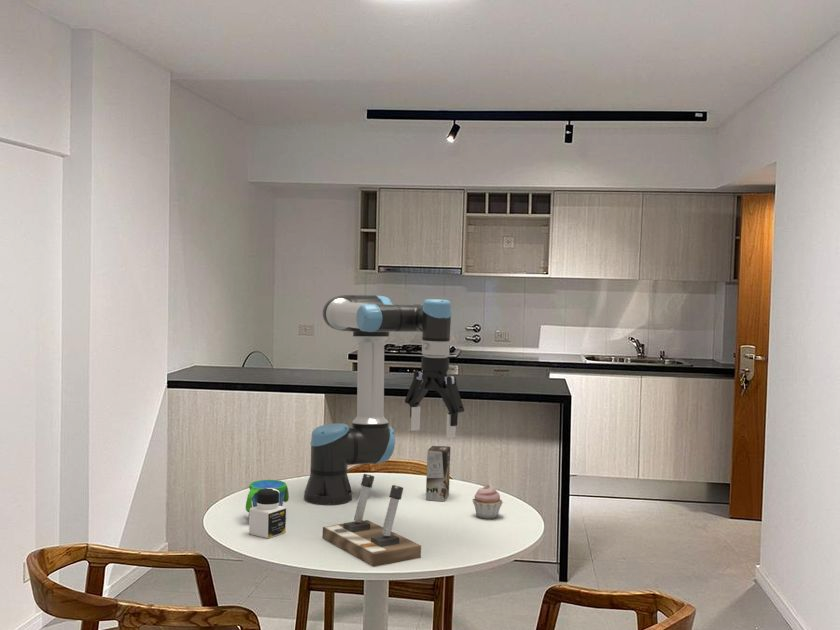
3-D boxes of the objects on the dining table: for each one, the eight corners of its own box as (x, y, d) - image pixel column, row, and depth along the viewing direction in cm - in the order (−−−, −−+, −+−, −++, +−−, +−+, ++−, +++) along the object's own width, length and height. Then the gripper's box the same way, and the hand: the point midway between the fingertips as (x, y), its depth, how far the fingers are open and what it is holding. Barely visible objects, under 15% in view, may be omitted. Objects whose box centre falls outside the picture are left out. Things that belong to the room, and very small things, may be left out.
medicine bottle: (268, 539, 226) (269, 494, 226) (248, 534, 230) (249, 490, 230) (286, 532, 232) (287, 489, 232) (266, 528, 236) (267, 485, 236)
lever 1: (349, 519, 228) (361, 473, 229) (359, 520, 230) (370, 475, 231) (355, 522, 226) (367, 475, 227) (364, 523, 227) (376, 477, 229)
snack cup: (258, 528, 236) (258, 491, 236) (233, 520, 243) (234, 485, 242) (299, 517, 248) (300, 482, 248) (275, 510, 255) (276, 476, 254)
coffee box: (444, 501, 270) (446, 451, 270) (425, 500, 272) (426, 450, 271) (449, 495, 279) (451, 446, 279) (430, 493, 281) (432, 444, 280)
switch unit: (322, 538, 229) (323, 521, 228) (367, 530, 237) (367, 514, 236) (373, 566, 207) (374, 548, 207) (420, 557, 215) (421, 539, 215)
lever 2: (377, 532, 217) (389, 484, 218) (387, 534, 218) (399, 486, 220) (384, 535, 214) (396, 486, 215) (393, 537, 216) (405, 488, 217)
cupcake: (464, 515, 255) (465, 482, 255) (485, 510, 262) (486, 478, 261) (488, 522, 248) (489, 488, 248) (508, 517, 255) (510, 484, 255)
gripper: (394, 352, 237) (391, 428, 238) (459, 361, 219) (456, 442, 220) (413, 351, 242) (410, 425, 243) (479, 359, 224) (476, 439, 225)
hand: (432, 434), depth 232 cm, fingers open, 13 cm apart
